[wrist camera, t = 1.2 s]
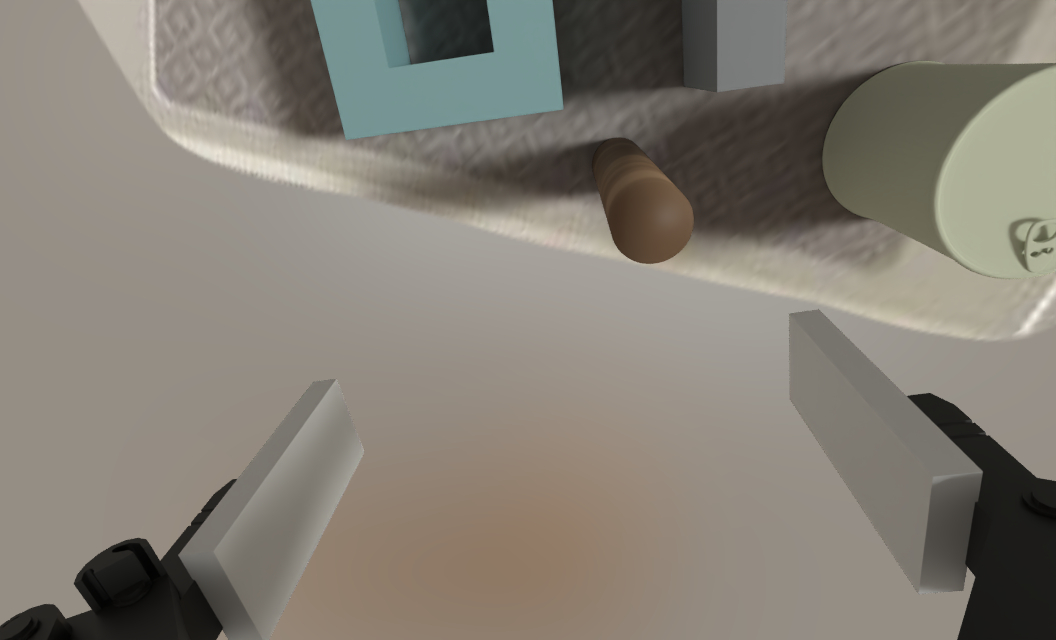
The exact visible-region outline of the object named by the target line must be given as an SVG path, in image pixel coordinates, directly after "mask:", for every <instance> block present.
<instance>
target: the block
mask: <svg viewBox="0 0 1056 640" xmlns="http://www.w3.org/2000/svg"><path fill="white" fill-rule="evenodd" d="M311 4H312V8H313V11H314V15H315V19H316V23H317V27H318V31H319V35H320V39H321V43H322V47H323V51H324V55H325V59H326V63H327V67H328V71H329V75H330V79H331V82H332V86H333V90H334V94H335V98H336V102H337V106H338V110H339V114H340V118H341V122H342V126H343V130H344V134H345V138H346V140H348V139H356V138H363V137H370V136H377V135H384V134H391V133H398V132H405V131H413V130H420V129H427V128H434V127H441V126H448V125H455V124H462V123H470V122H477V121H484V120H491V119H498V118H505V117H512V116H519V115H527V114H534V113H541V112H548V111H555V110H562V109H563V96H562V87H561V77H560V67H559V58H558V48H557V39H556V29H555V19H554V10H553V0H487V6H488V13H489V19H490V26H491V33H492V40H493V47H494V52H491V53H485V54H478V55H472V56H465V57H458V58H452V59H445V60H439V61H432V62H426V63H419V64H413V65H411V62H410V57H409V52H408V47H407V42H406V37H405V32H404V27H403V21H402V16H401V11H400V6H399V1H398V0H311Z"/></svg>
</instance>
